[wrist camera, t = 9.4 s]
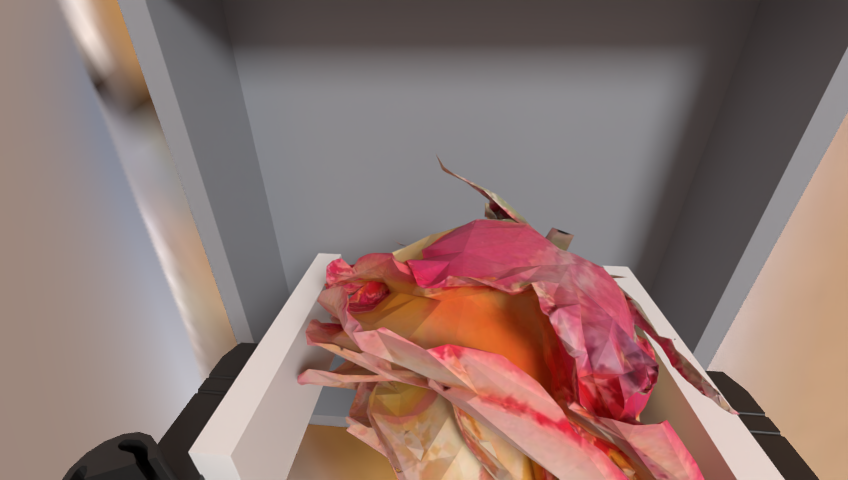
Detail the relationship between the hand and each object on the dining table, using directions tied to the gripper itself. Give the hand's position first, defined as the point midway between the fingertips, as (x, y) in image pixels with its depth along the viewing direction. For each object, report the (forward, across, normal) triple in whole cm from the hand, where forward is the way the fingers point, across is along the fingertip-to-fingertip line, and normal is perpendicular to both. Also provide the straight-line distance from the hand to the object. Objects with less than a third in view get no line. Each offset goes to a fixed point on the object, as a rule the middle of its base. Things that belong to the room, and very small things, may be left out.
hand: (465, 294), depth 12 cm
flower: (+1, 0, 0) cm, 1 cm away
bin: (+6, 0, 0) cm, 6 cm away
